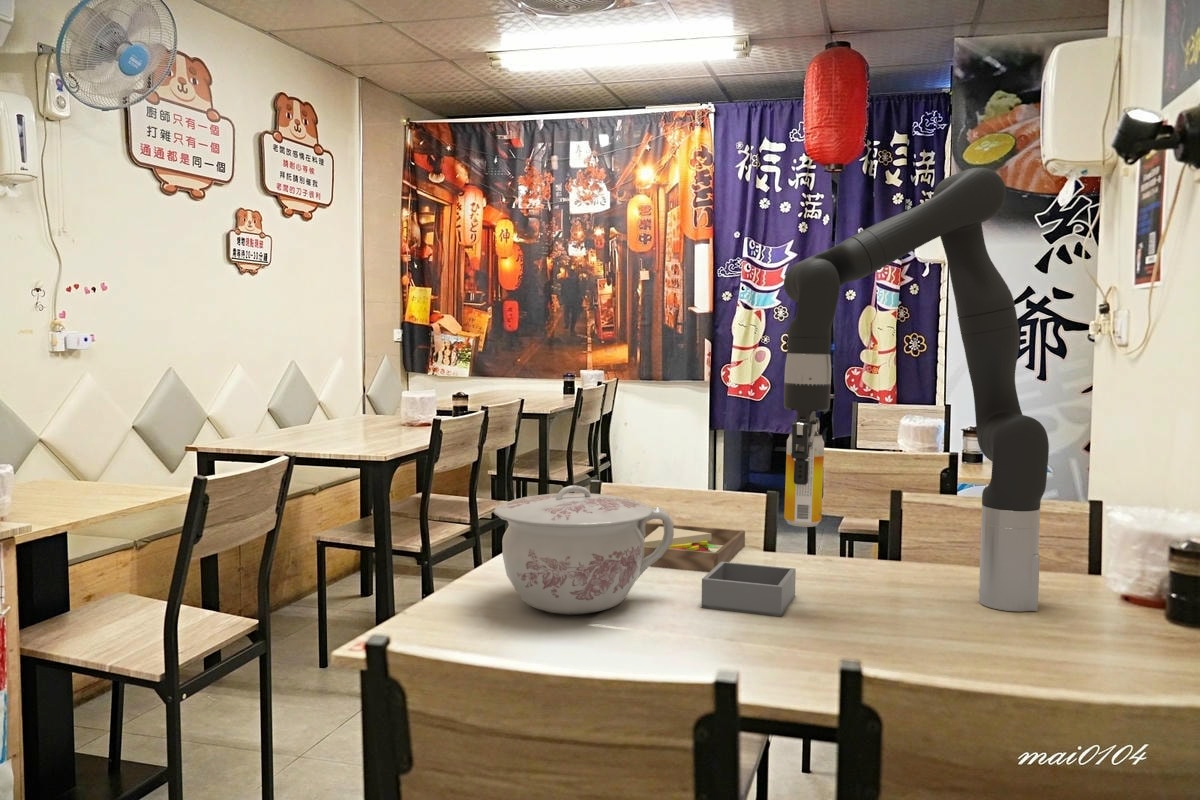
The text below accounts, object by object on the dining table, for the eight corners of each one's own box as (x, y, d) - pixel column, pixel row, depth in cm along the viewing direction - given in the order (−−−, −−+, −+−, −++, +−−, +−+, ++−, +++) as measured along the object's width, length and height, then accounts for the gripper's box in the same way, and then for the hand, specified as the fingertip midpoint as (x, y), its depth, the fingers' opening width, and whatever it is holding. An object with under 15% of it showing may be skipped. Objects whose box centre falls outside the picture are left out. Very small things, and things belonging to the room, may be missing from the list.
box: (795, 596, 166) (795, 568, 165) (781, 616, 153) (781, 587, 153) (720, 588, 171) (721, 561, 170) (701, 607, 158) (701, 578, 158)
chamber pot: (461, 613, 154) (460, 490, 153) (546, 576, 179) (546, 470, 177) (610, 639, 141) (611, 504, 140) (680, 595, 166) (681, 481, 164)
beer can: (818, 521, 158) (821, 433, 157) (823, 528, 152) (827, 437, 151) (782, 519, 158) (785, 432, 157) (786, 526, 152) (789, 435, 151)
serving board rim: (744, 548, 204) (745, 530, 203) (717, 573, 181) (718, 553, 181) (641, 539, 212) (641, 522, 212) (603, 562, 190) (603, 543, 190)
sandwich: (604, 557, 196) (604, 534, 196) (670, 545, 209) (670, 523, 209) (653, 571, 185) (653, 546, 184) (720, 557, 197) (720, 534, 197)
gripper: (825, 383, 145) (821, 489, 146) (835, 380, 159) (831, 477, 160) (777, 381, 148) (773, 485, 149) (791, 379, 161) (787, 474, 162)
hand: (803, 481), depth 154 cm, fingers closed on beer can, 6 cm apart
